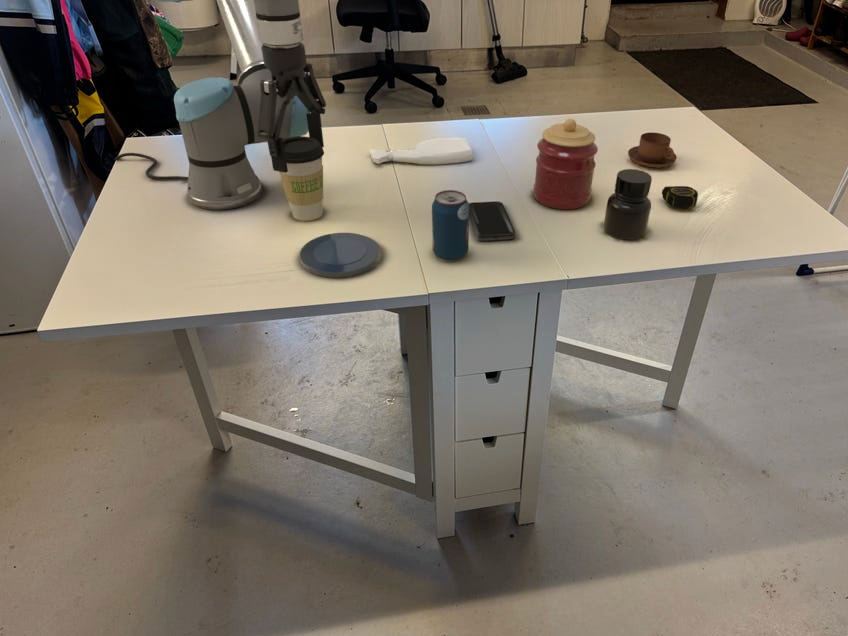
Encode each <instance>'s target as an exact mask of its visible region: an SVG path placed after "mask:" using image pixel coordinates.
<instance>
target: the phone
mask: <svg viewBox="0 0 848 636" xmlns="http://www.w3.org/2000/svg"><path fill="white" fill-rule="evenodd" d="M468 203H469V220H470V223H471V225H472V228H473V231H474V235H475V236H476V239H477V240H478V241H480V242H491V241H506V240H508V241H509V240H513V239H515V237H516V230H515V228H514V226H513V223H512V221H511V219H510V217H509V214H508V212H507V211H506V208H505V206H504V203H503V202H502V201H498V200H497V201H476V202H475V201H473V202H468Z"/></svg>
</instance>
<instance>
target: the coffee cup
mask: <svg viewBox="0 0 848 636" xmlns="http://www.w3.org/2000/svg"><path fill="white" fill-rule="evenodd" d="M283 145H284V151H285V157H286V163H287V169H288V172H286V173H284V172H279V171H278V172H279V175H280V179H281V183H282V186H283V190H284V193H285V196H286V199H287V202H288V205H289V208H290V211H291V214H292V217H293V218H294V219H295V220H298V221H304V222H306V221H307V222H309V221H314V220H318V219H320V218H321V217H322V215H323V213H324V212H323V207H324V205H323V201H324V200H323V199H324V164H323V156H324V155H325V150H324V147H323V148H322V147H321V146H320V143H319V141H318V140H316V139H314V138H311V137H309V136H305V135H304V136H296V137H289V138H285V139H283Z"/></svg>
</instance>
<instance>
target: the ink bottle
mask: <svg viewBox="0 0 848 636" xmlns="http://www.w3.org/2000/svg"><path fill="white" fill-rule="evenodd" d="M652 181H653V178H652V175H651V174H650V173H648V172H646V171H645V170H642V169H636V168H635V169H633V168H626V169H622V170H618V171H617V173H616V179H615V185H614V192H613V193H612V194H611V195H609V196H608V199H607V203H606V207H605V214H604V220H603V229H604V231H605V233H606V234H608V235H609V236H611V237H613V238H617V239H620V240H621V239H622V240H636V239H640V238H642V237H644V236H645V234H646V232H647V229H648V226H649V225H648V224H649V220H650V219H649V218H650V214H651V210H652V202H651V200H650V198H648V196H649V193H650V190H651V185H652Z"/></svg>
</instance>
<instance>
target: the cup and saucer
mask: <svg viewBox="0 0 848 636" xmlns="http://www.w3.org/2000/svg"><path fill="white" fill-rule="evenodd" d="M671 141H672V139H671V137H670V136H668V135H666V134H664V133H660V132H644V133H642V134H641V135H640V138H639V143H638V145H636V146H633V147H631V148H630V149H629V150H628V151H627V155H628V157H629V158H630V159H631V161H633V162H634V163H635V164H638V165H640V166H643V167H648V168H666V167H668V166H671V165H673V164H675V162H676V161H677V158H678V157H677V155H676V153H675V152H674V151H675V150H674V149H673V148H672V147H671V146H670V145H671Z"/></svg>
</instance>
